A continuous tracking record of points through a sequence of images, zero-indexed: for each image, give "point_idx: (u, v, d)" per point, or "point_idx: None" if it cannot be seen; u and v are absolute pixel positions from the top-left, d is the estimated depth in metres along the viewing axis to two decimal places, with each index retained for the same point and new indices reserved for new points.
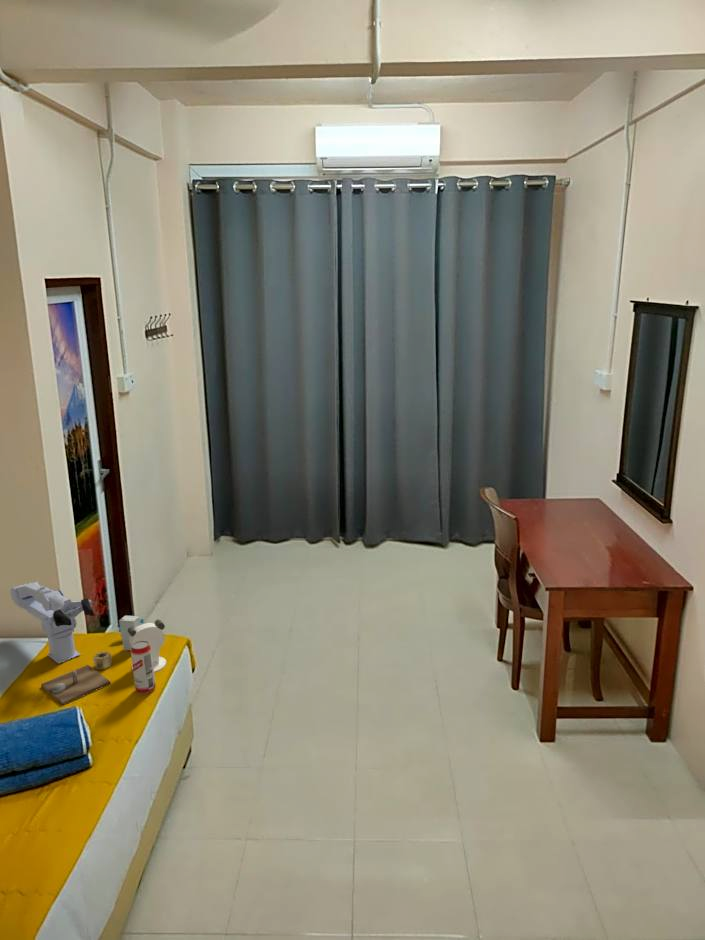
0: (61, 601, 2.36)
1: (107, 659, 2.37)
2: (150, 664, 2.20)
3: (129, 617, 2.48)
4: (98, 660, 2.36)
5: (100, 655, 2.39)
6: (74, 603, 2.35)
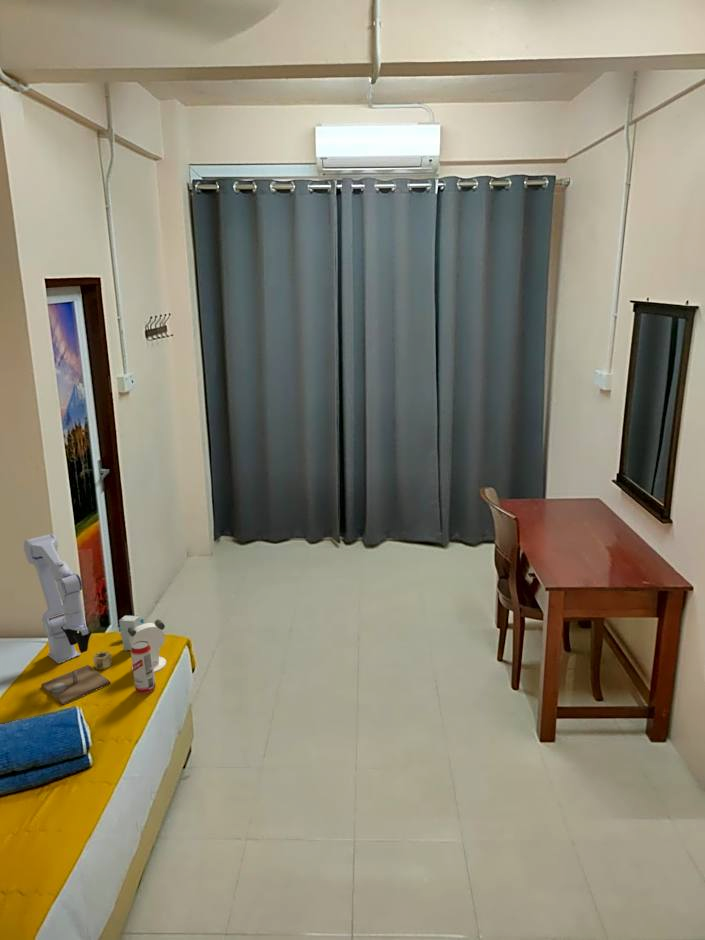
0: (64, 616, 2.29)
1: (107, 659, 2.37)
2: (150, 664, 2.20)
3: (129, 617, 2.48)
4: (98, 660, 2.36)
5: (100, 655, 2.39)
6: None
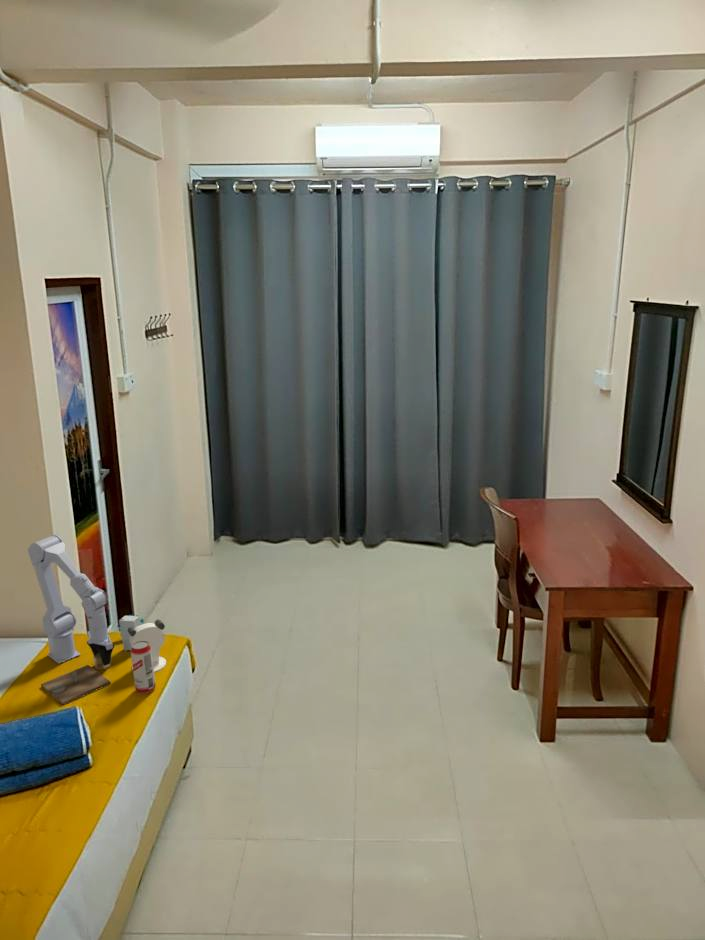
0: (89, 630, 2.35)
1: None
2: (150, 664, 2.20)
3: (129, 617, 2.48)
4: (98, 660, 2.36)
5: None
6: None
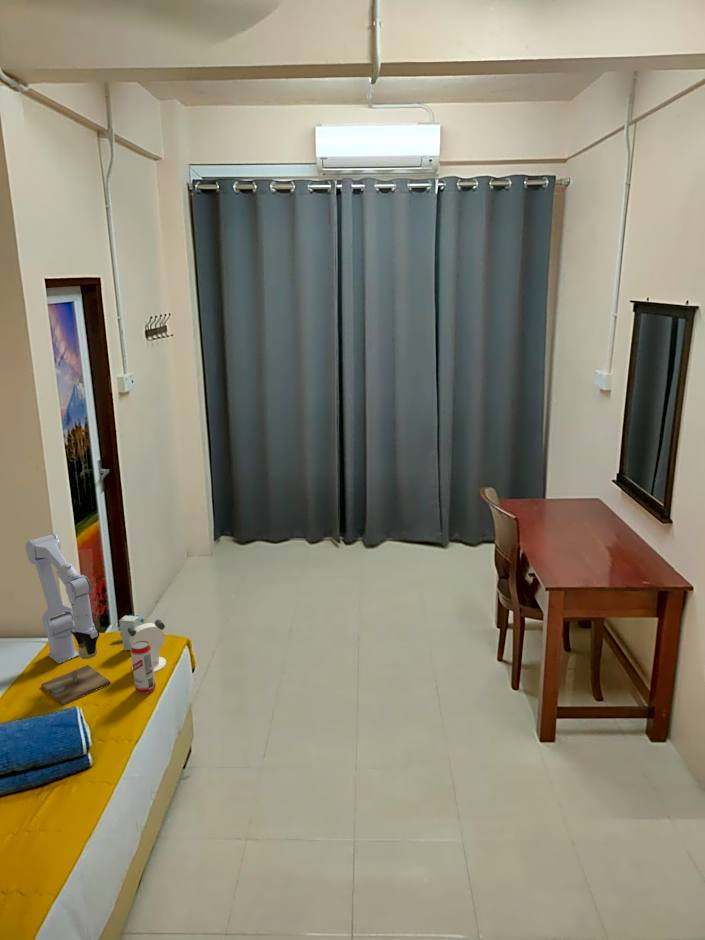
0: (73, 618, 2.27)
1: None
2: (150, 664, 2.20)
3: (129, 617, 2.48)
4: (83, 649, 2.29)
5: None
6: None
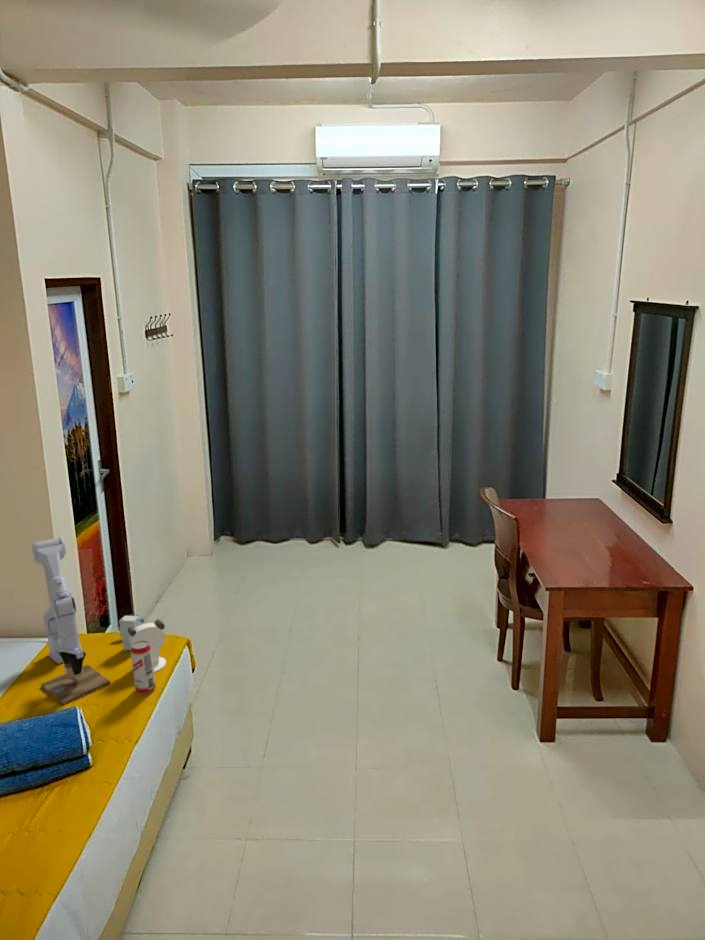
0: (59, 638, 2.22)
1: None
2: (150, 664, 2.20)
3: (129, 617, 2.48)
4: (69, 669, 2.24)
5: None
6: None
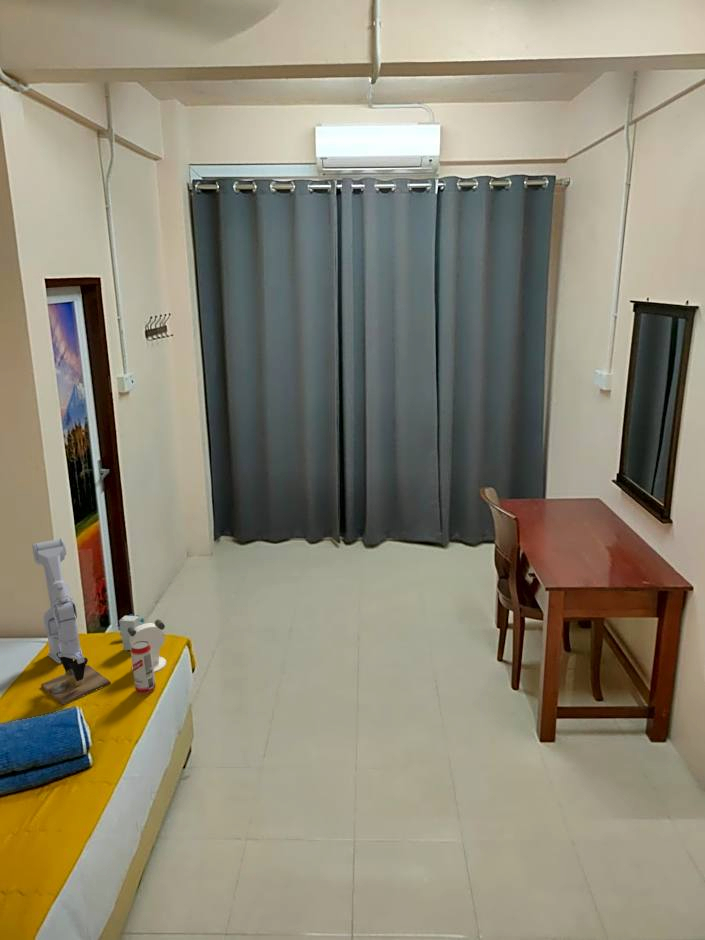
0: (60, 643, 2.22)
1: None
2: (150, 664, 2.20)
3: (129, 617, 2.48)
4: (70, 677, 2.24)
5: None
6: None
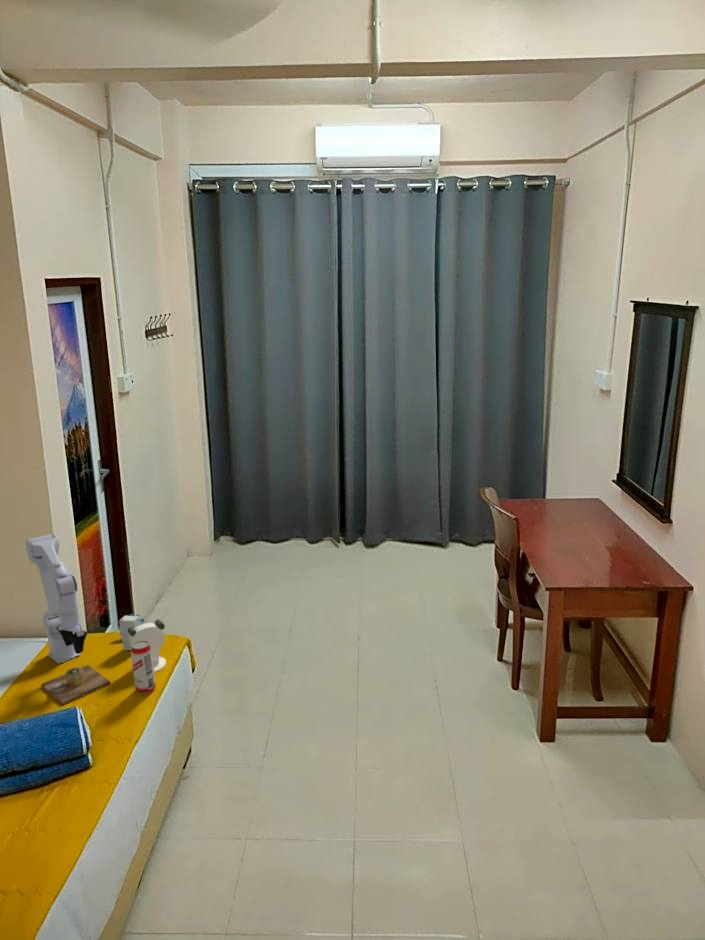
0: (60, 617, 2.28)
1: (79, 676, 2.25)
2: (150, 664, 2.20)
3: (129, 617, 2.48)
4: (70, 677, 2.24)
5: None
6: None
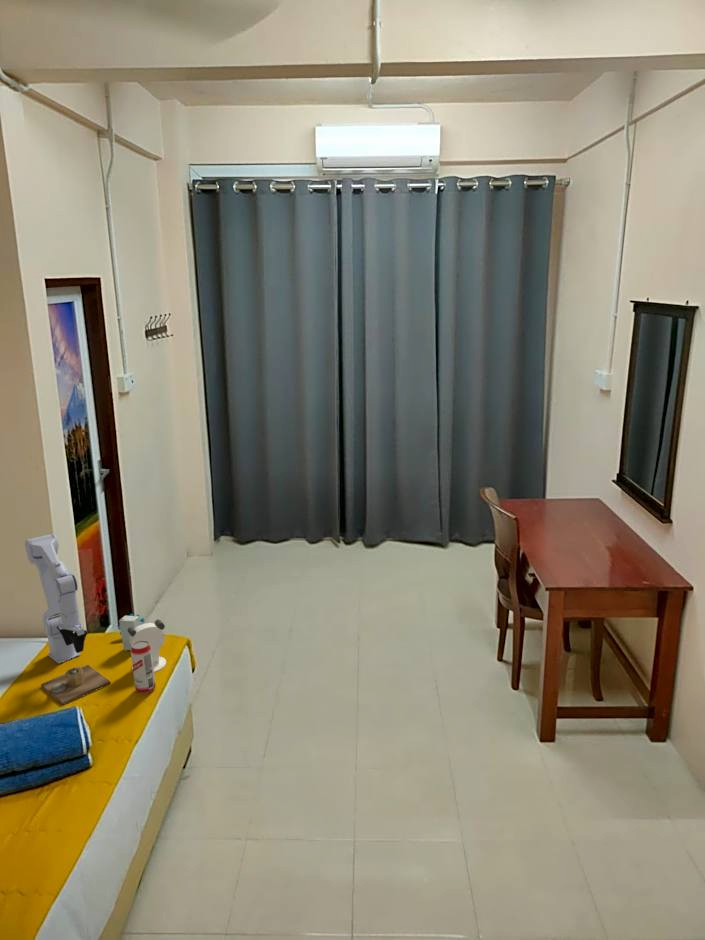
0: (60, 616, 2.29)
1: (79, 676, 2.25)
2: (150, 664, 2.20)
3: (129, 617, 2.48)
4: (70, 677, 2.24)
5: None
6: None
